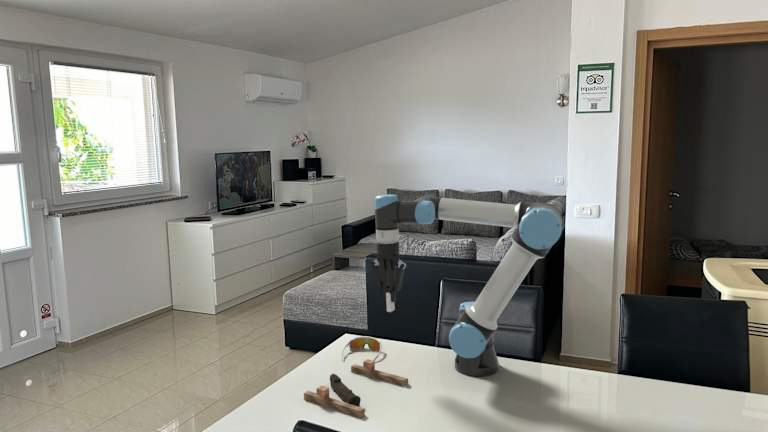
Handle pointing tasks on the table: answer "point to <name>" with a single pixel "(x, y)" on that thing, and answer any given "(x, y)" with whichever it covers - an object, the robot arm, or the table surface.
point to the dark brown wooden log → (344, 391)
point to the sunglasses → (360, 344)
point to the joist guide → (325, 400)
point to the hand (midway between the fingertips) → (390, 310)
